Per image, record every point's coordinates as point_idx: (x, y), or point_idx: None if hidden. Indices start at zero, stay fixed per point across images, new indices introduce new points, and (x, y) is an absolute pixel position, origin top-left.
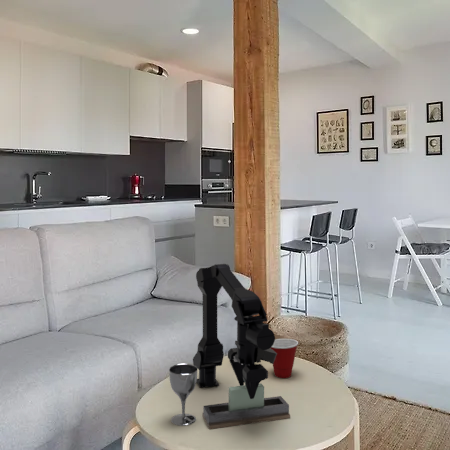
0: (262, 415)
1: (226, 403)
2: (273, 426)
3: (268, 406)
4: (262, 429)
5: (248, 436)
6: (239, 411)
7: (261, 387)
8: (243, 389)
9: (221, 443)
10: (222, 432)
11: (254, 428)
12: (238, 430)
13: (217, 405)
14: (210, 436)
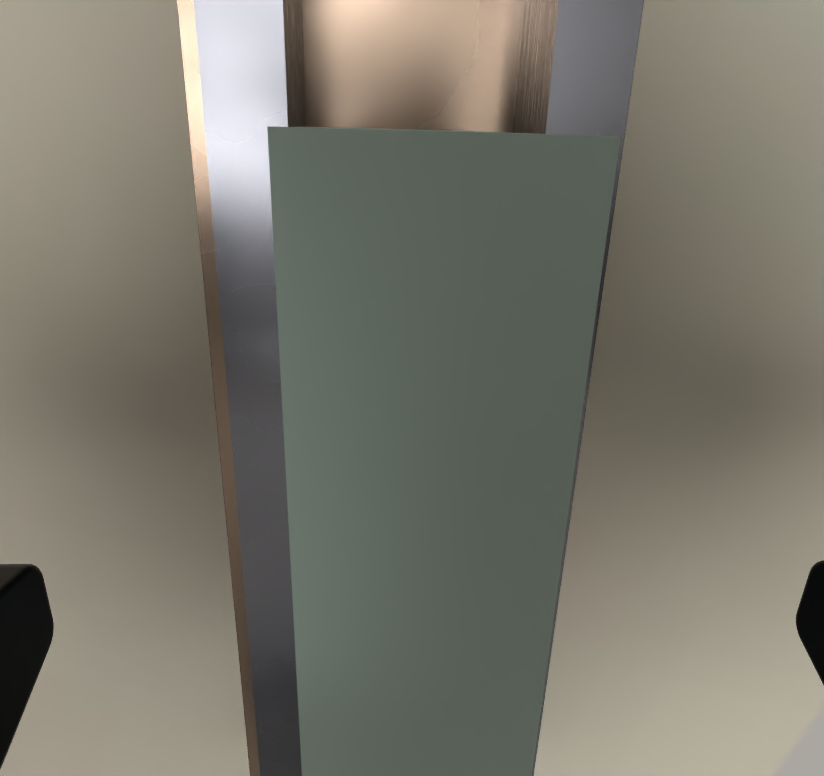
0: None
1: (268, 661)
2: (766, 108)
3: (583, 66)
4: (761, 283)
5: (812, 477)
6: (561, 577)
7: (596, 254)
8: (526, 766)
9: (789, 707)
10: (623, 664)
11: (695, 365)
12: (655, 531)
13: (299, 760)
14: (642, 755)
